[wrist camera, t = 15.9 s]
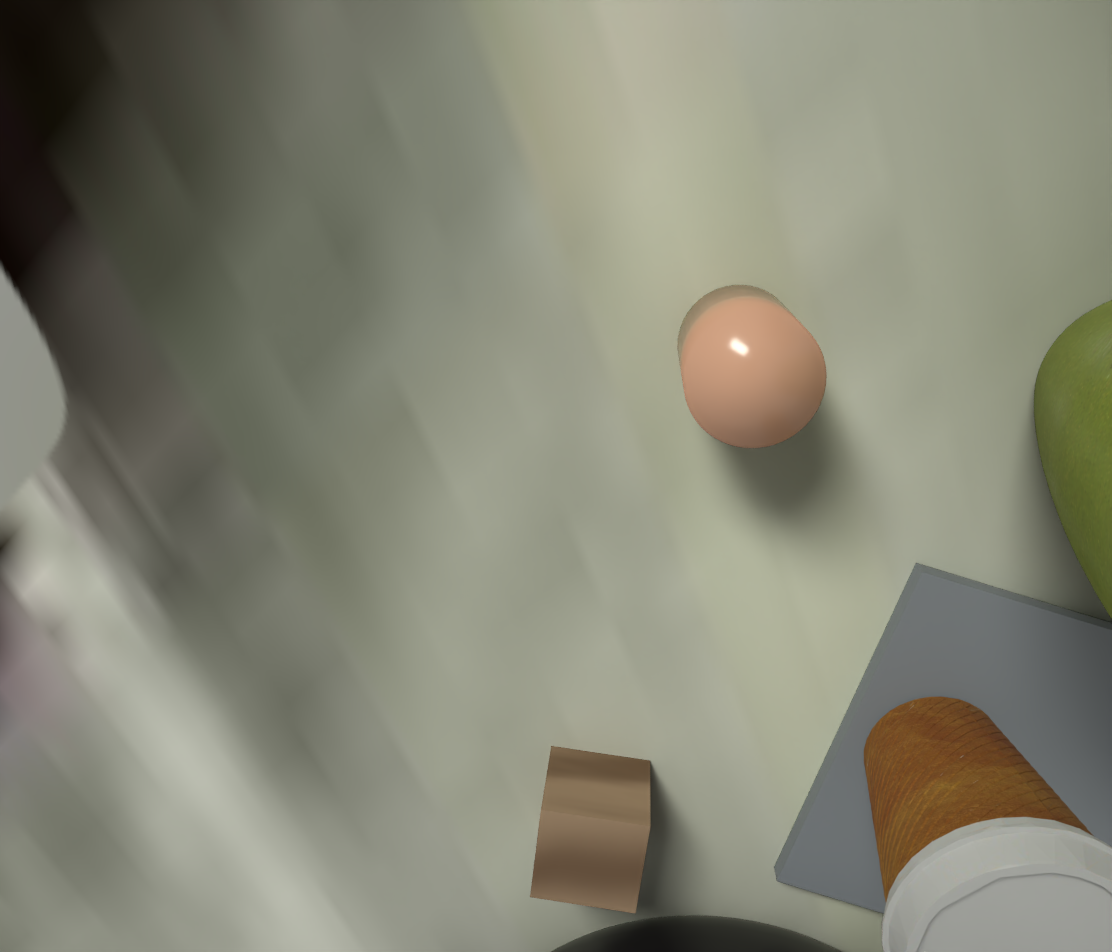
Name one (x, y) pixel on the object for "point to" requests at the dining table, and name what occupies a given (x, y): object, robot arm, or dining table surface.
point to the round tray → (694, 937)
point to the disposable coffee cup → (978, 841)
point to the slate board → (982, 680)
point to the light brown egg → (749, 367)
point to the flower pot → (1080, 440)
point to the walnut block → (593, 830)
